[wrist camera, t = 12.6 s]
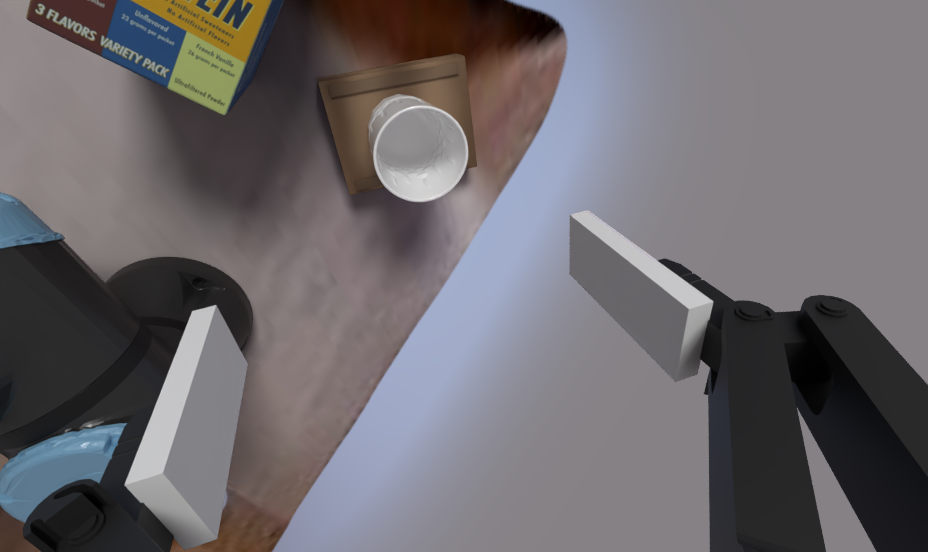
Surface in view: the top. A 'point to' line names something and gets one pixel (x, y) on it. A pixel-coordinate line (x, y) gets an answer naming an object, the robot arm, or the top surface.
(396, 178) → the white cup
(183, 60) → the protein box
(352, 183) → the tan flat block
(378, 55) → the top surface
